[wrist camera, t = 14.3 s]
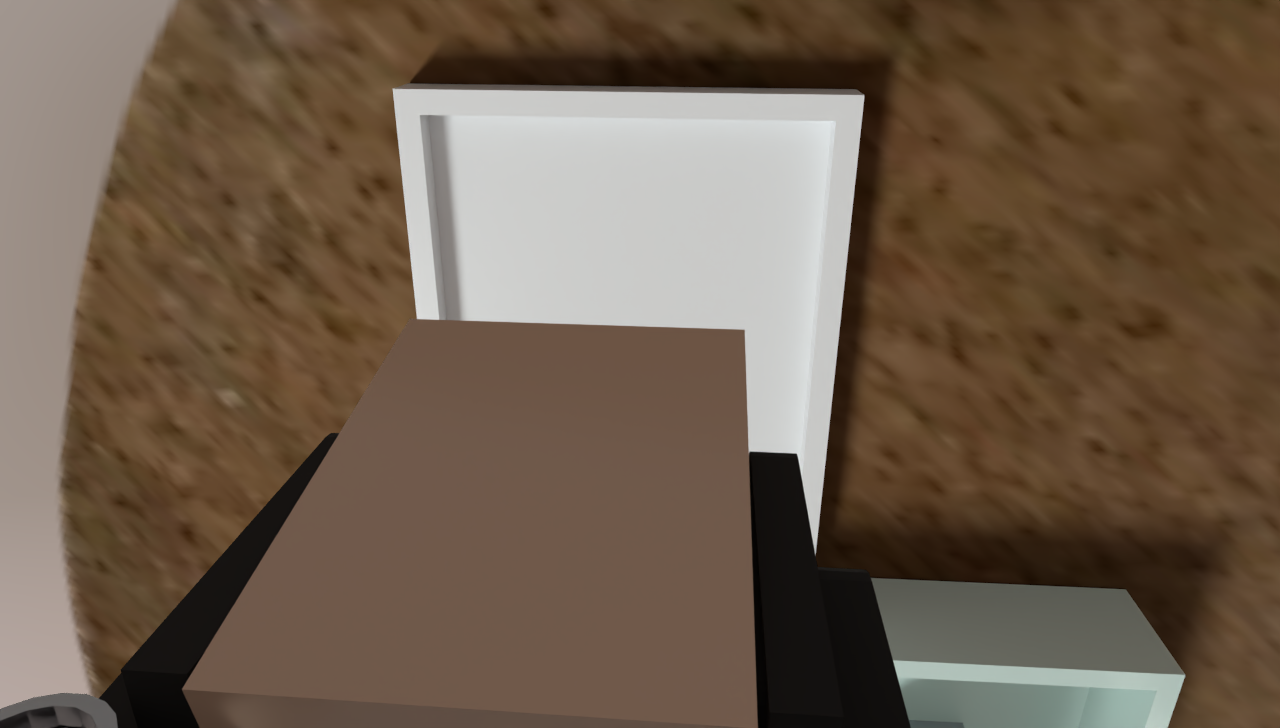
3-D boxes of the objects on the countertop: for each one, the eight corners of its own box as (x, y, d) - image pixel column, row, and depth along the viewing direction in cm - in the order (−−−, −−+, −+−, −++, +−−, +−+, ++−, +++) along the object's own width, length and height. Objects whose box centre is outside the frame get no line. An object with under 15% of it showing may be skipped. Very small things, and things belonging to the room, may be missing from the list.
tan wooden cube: (744, 329, 10) (757, 729, 6) (729, 572, 12) (730, 994, 8) (410, 319, 10) (180, 690, 6) (453, 558, 13) (307, 957, 8)
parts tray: (856, 89, 21) (864, 94, 20) (807, 557, 27) (812, 582, 26) (408, 83, 22) (392, 89, 21) (453, 542, 28) (443, 565, 26)
